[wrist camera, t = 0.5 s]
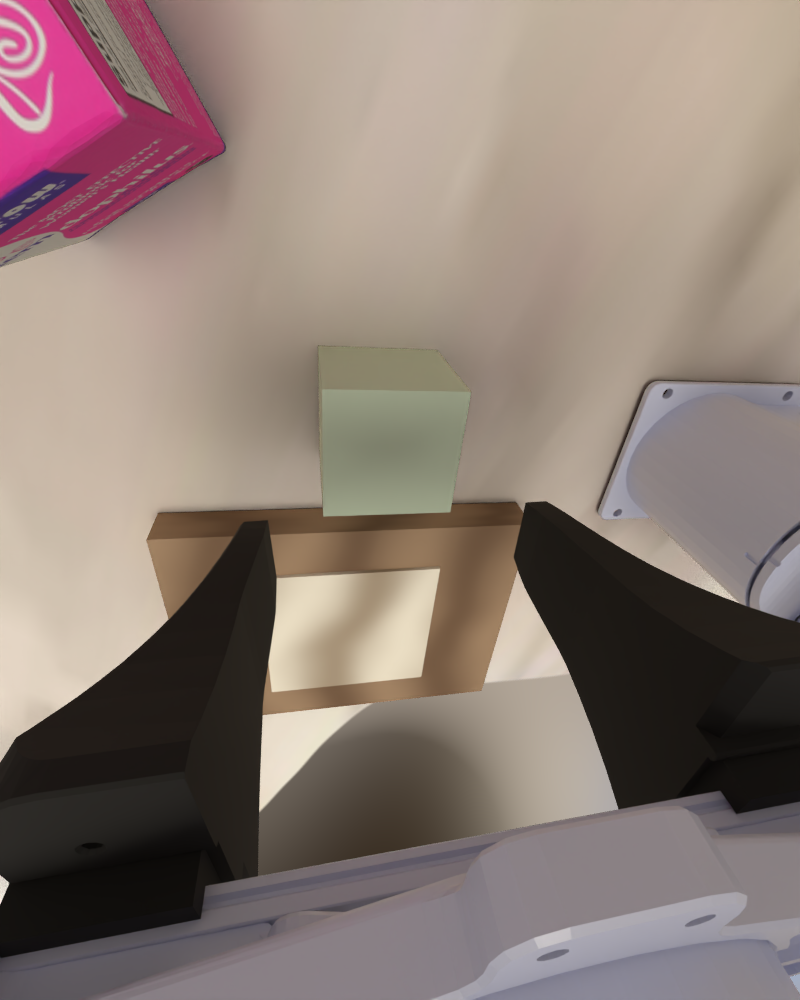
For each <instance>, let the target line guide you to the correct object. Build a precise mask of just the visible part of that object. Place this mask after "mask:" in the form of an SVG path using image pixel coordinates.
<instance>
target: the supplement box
mask: <svg viewBox="0 0 800 1000" xmlns="http://www.w3.org/2000/svg"><path fill="white" fill-rule="evenodd" d="M224 151H225V144H224V142H223V141H222V139H221V137H220V135H219V133H218V131H217V130H216V128H215V126H214V124H213V122H212V121H211V119H210V117H209V115H208V113H207V112H206V110H205V108H204V106H203V105H202V103H201V101H200V99H199V97H198V96H197V94H196V92H195V90H194V88H193V87H192V85H191V83H190V81H189V79H188V78H187V76H186V74H185V72H184V71H183V69H182V67H181V65H180V63H179V62H178V60H177V58H176V56H175V54H174V53H173V51H172V49H171V47H170V45H169V44H168V42H167V40H166V38H165V36H164V35H163V33H162V31H161V29H160V27H159V26H158V24H157V22H156V20H155V19H154V17H153V15H152V13H151V11H150V10H149V8H148V6H147V4H146V2H145V1H144V0H0V267H2V266H6V265H9V264H12V263H15V262H19V261H22V260H25V259H28V258H31V257H34V256H37V255H41V254H44V253H47V252H50V251H53V250H56V249H60V248H63V247H66V246H69V245H73V244H76V243H79V242H81V241H84V240H87V239H89V238H90V237H92V236H93V235H94V234H96V233H97V232H99V231H100V230H101V229H103V228H104V227H105V226H106V225H108V224H109V223H111V222H112V221H113V220H115V219H116V218H117V217H119V216H120V215H122V214H124V213H125V212H127V211H128V210H130V209H131V208H133V207H134V206H136V205H137V204H139V203H141V202H142V201H144V200H145V199H147V198H148V197H150V196H152V195H153V194H155V193H156V192H158V191H159V190H161V189H162V188H164V187H166V186H167V185H169V184H170V183H172V182H174V181H175V180H177V179H178V178H180V177H182V176H183V175H185V174H186V173H188V172H190V171H191V170H193V169H195V168H196V167H198V166H200V165H202V164H204V163H206V162H208V161H209V160H211V159H213V158H214V157H216V156H218V155H220V154H222V153H224Z"/></svg>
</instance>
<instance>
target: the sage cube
mask: <svg viewBox="0 0 800 1000" xmlns="http://www.w3.org/2000/svg"><path fill="white" fill-rule="evenodd" d="M318 389H319V455H320V471H321V488H322V504H323V517H325V516H355V515H385V514H415V513H446V512H450V511H451V505H452V500H453V494H454V488H455V483H456V477H457V471H458V465H459V460H460V454H461V448H462V443H463V437H464V431H465V425H466V420H467V414H468V408H469V402H470V397H471V391H470V390H469V388H468V387H467V386H466V385H465V384H464V382H463V381H462V380H461V379H460V377H459V376H458V375H457V374H456V373H455V371H454V370H453V369H452V368H451V366H450V365H449V364H448V363H447V362H446V360H445V359H444V358H443V357H442V355H441V354H440V353H439V352H438V351H437V350H424V349H396V348H368V347H340V346H318Z"/></svg>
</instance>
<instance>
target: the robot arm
mask: <svg viewBox="0 0 800 1000" xmlns="http://www.w3.org/2000/svg"><path fill="white" fill-rule="evenodd" d="M667 389H668V390H667ZM665 390H667V392H666V394H664V395H663V393H664V391H665ZM615 510H617V511H615ZM614 511H615V512H614ZM598 514H599V515H600V517H601V518H603V519H605V520H612V519H637V518H651V519H652V520H653V521H654V522H655V523H656V524H657V525H658V526H659V527H660V528H661V529H662V530H663V531H665V532H666V533H667V534H668V535H669V536H670V537H671V538H672V539H673V540H674V541H675V542H676V543H677V544H678V545H679V546H680V547H681V548H682V549H683V550H684V551H685V552H686V553H688V554H689V555H690V556H691V557H692V558H693V559H694V560H695V561H696V562H697V563H698V564H699V565H700V566H701V567H702V568H703V569H704V570H705V571H706V572H707V573H708V574H709V575H711V576H712V577H713V578H714V579H715V580H716V581H717V582H718V583H719V584H720V585H721V586H722V587H723V588H724V589H725V590H726V591H727V592H728V593H729V594H730V595H731V596H733V597H734V598H735V599H736V600H737V601H738V602H739V603H737V602H734V601H731V600H729V599H726V598H723V597H721V596H718V595H716V594H713V593H711V592H708V591H706V590H704V589H701V588H699V587H696V586H694V585H692V584H689V583H687V582H685V581H683V580H680V579H678V578H676V577H674V576H672V575H670V574H668V573H666V572H664V571H662V570H660V569H658V568H656V567H654V566H652V565H650V564H648V563H646V562H644V561H643V560H641V559H639V558H637V557H636V556H634V555H632V554H630V553H628V552H627V551H625V550H623V549H622V548H620V547H618V546H617V545H615V544H613V543H612V542H610V541H608V540H607V539H605V538H603V537H602V536H600V535H599V534H597V533H596V532H594V531H592V530H591V529H589V528H588V527H586V526H585V525H583V524H582V523H580V522H579V521H577V520H576V519H574V518H572V517H571V516H569V515H568V514H566V513H565V512H563V511H562V510H560V509H558V508H557V507H555V506H553V505H552V504H550V503H548V502H546V501H543V502H528V503H526V504H525V509H524V513H523V517H522V522H521V526H520V530H519V535H518V539H517V544H516V548H515V552H514V560H515V563H516V566H517V569H518V571H519V574H520V577H521V579H522V582H523V584H524V587H525V589H526V591H527V593H528V595H529V596H530V598H531V600H532V602H533V604H534V606H535V608H536V609H537V611H538V613H539V615H540V617H541V619H542V620H543V622H544V624H545V626H546V628H547V629H548V631H549V633H550V635H551V637H552V639H553V640H554V642H555V644H556V646H557V648H558V649H559V651H560V653H561V655H562V657H563V659H564V661H565V663H566V666H567V668H568V670H569V673H570V675H571V677H572V680H573V682H574V685H575V687H576V689H577V692H578V694H579V697H580V699H581V702H582V704H583V707H584V710H585V712H586V715H587V717H588V720H589V722H590V725H591V728H592V730H593V733H594V736H595V739H596V742H597V744H598V748H599V750H600V753H601V756H602V759H603V762H604V765H605V767H606V770H607V774H608V777H609V780H610V783H611V786H612V790H613V793H614V796H615V799H616V802H617V806H618V810H613V811H608V812H603V813H597V814H592V815H587V816H581V817H575V818H570V819H565V820H559V821H554V822H549V823H543V824H538V825H532V826H527V827H522V828H516V829H511V830H505V831H500V832H494V833H489V834H484V835H479V836H473V837H468V838H462V839H457V840H451V841H447V842H441V843H435V844H430V845H424V846H419V847H414V848H408V849H403V850H397V851H392V852H387V853H381V854H376V855H370V856H365V857H360V858H354V859H349V860H343V861H338V862H333V863H327V864H322V865H317V866H311V867H306V868H301V869H295V870H290V871H285V872H279V873H274V874H268V875H263V876H258V831H259V830H258V828H259V793H260V763H261V737H262V716H263V700H264V690H265V683H266V676H267V669H268V662H269V656H270V649H271V642H272V636H273V629H274V622H275V615H276V592H277V576H276V569H275V563H274V556H273V550H272V543H271V537H270V530H269V524H268V520H262V521H247V522H243V523H242V524H241V525H240V527H239V528H238V530H237V532H236V533H235V535H234V537H233V538H232V540H231V541H230V543H229V544H228V546H227V547H226V549H225V550H224V552H223V553H222V555H221V556H220V558H219V559H218V560H217V562H216V563H215V564H214V566H213V567H212V569H211V570H210V571H209V573H208V574H207V575H206V577H205V578H204V579H203V581H202V582H201V583H200V584H199V585H198V587H197V588H196V589H195V590H194V591H193V593H192V594H191V595H190V596H189V598H188V599H187V600H186V601H185V602H184V603H183V605H182V606H181V607H180V608H179V609H178V610H177V611H176V612H175V613H174V614H173V615H172V617H171V618H170V619H169V620H168V621H167V622H166V623H165V624H164V625H163V626H162V627H161V628H160V629H159V630H158V631H157V632H156V633H155V634H154V635H153V636H151V637H150V638H149V639H148V640H147V641H146V642H145V643H144V644H143V645H142V646H141V647H139V648H138V649H137V650H136V651H135V652H134V653H133V654H131V655H130V656H129V657H128V658H127V659H126V660H125V661H124V662H122V663H121V664H120V665H119V666H117V667H116V668H115V669H114V670H112V671H111V672H110V673H109V674H107V675H106V676H105V677H103V678H102V679H101V680H100V681H98V682H97V683H96V684H94V685H93V686H92V687H90V688H89V689H87V690H86V691H85V692H83V693H82V694H81V695H79V696H78V697H77V698H75V699H74V700H72V701H71V702H70V703H68V704H67V705H65V706H64V707H62V708H61V709H59V710H58V711H56V712H55V713H53V714H52V715H50V716H49V717H47V718H46V719H44V720H43V721H41V722H40V723H38V724H37V725H35V726H34V727H32V728H31V729H29V730H28V731H26V732H24V733H23V734H21V735H20V736H18V737H16V739H15V740H14V742H13V744H12V745H11V747H10V748H9V750H8V752H7V753H6V755H5V756H4V758H3V759H2V761H1V762H0V875H1V876H2V877H3V878H5V879H6V880H7V881H8V882H9V886H8V888H7V890H6V893H5V895H4V897H3V900H2V902H1V904H0V1000H800V994H799V992H798V991H797V989H796V987H795V986H794V984H793V982H792V980H791V979H790V976H794V975H797V974H800V384H763V383H723V382H683V381H655V382H653V383H651V384H650V385H649V386H648V387H647V388H646V390H645V392H644V395H643V397H642V400H641V402H640V405H639V407H638V410H637V413H636V415H635V418H634V420H633V423H632V425H631V428H630V430H629V433H628V436H627V438H626V441H625V443H624V446H623V448H622V451H621V453H620V456H619V459H618V461H617V464H616V466H615V469H614V471H613V474H612V477H611V479H610V482H609V484H608V487H607V489H606V492H605V494H604V497H603V500H602V502H601V505H600V507H599V510H598Z"/></svg>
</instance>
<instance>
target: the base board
mask: <svg viewBox="0 0 800 1000" xmlns="http://www.w3.org/2000/svg"><path fill="white" fill-rule="evenodd" d="M522 517H523V512H522V510H521V509H520V507H519V506H518V504H517V503H516V502H514V503H481V504H452V505H451V511H450V512H446V513H415V514H385V515H355V516H325V517H323V508H314V509H281V510H248V511H214V512H181V513H158V515H157V517H156V519H155V522H154V524H153V526H152V528H151V531H150V533H149V535H148V538H147V544H148V547H149V551H150V554H151V558H152V561H153V565H154V569H155V572H156V576H157V579H158V583H159V586H160V590H161V594H162V597H163V601H164V604H165V608H166V611H167V615H168V619H170V618H171V617H172V615H173V614H174V613H175V612H176V611H177V610H178V609H179V608H180V607H181V606H182V605H183V603H184V602H185V601H186V600H187V599H188V598H189V596H190V595H191V594H192V593H193V591H194V590H195V589H196V588H197V587H198V585H199V584H200V583H201V582H202V581H203V579H204V578H205V577H206V575H207V574H208V573H209V571H210V570H211V569H212V567H213V566H214V564H215V563H216V562H217V560H218V559H219V558H220V556H221V555H222V553H223V552H224V550H225V549H226V547H227V546H228V544H229V543H230V541H231V540H232V538H233V537H234V535H235V533H236V532H237V530H238V528H239V527H240V525H241V524H242V523H243V522H247V521H262V520H268V524H269V530H270V537H271V543H272V550H273V556H274V563H275V569H276V576H277V592H276V615H275V622H274V629H273V636H272V642H271V649H270V656H269V662H268V669H267V676H266V683H265V690H264V700H263V715H267V714H276V713H285V712H294V711H303V710H312V709H321V708H330V707H339V706H348V705H357V704H366V703H375V702H384V701H393V700H402V699H411V698H420V697H429V696H438V695H447V694H455V693H465V692H474V691H481V690H482V687H483V684H484V680H485V677H486V674H487V670H488V667H489V664H490V660H491V657H492V654H493V650H494V647H495V644H496V640H497V637H498V633H499V630H500V627H501V623H502V620H503V617H504V613H505V610H506V607H507V603H508V600H509V597H510V593H511V590H512V587H513V583H514V580H515V577H516V573H517V570H518V569H517V566H516V563H515V560H514V552H515V548H516V544H517V539H518V535H519V530H520V526H521V522H522Z"/></svg>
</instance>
